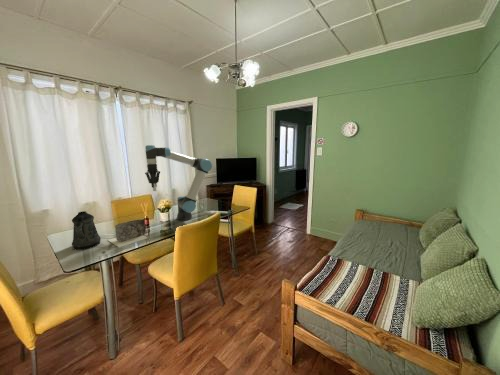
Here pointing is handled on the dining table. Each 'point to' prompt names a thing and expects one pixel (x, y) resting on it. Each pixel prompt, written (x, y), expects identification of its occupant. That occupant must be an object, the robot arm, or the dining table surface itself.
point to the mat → (127, 241)
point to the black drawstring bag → (84, 232)
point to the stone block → (130, 230)
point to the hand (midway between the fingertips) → (154, 190)
